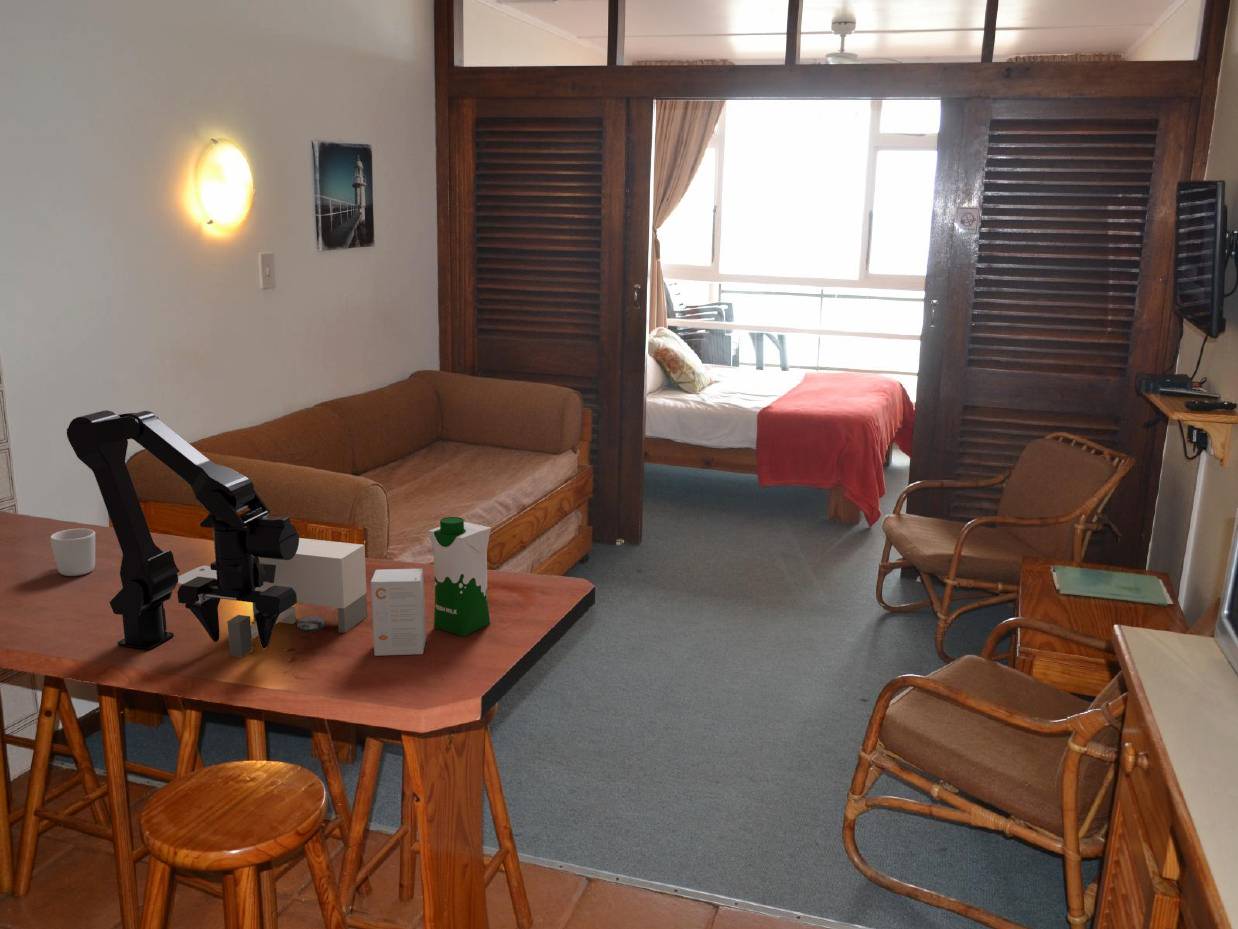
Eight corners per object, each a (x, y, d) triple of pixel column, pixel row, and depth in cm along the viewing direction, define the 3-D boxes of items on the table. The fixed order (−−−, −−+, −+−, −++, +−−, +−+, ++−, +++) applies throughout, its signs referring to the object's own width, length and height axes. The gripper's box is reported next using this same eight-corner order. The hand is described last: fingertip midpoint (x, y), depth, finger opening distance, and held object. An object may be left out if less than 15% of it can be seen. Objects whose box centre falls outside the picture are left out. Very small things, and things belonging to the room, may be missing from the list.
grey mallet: (242, 657, 173) (239, 623, 172) (229, 655, 174) (226, 621, 172) (295, 622, 188) (293, 590, 186) (283, 620, 188) (281, 588, 187)
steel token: (315, 635, 183) (314, 627, 183) (292, 632, 184) (291, 624, 184) (328, 625, 187) (328, 617, 187) (306, 622, 188) (305, 614, 188)
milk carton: (426, 628, 186) (423, 519, 181) (460, 612, 193) (458, 507, 189) (464, 639, 181) (462, 527, 177) (498, 623, 189) (496, 515, 184)
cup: (56, 564, 216) (51, 526, 214) (99, 559, 219) (95, 522, 217) (53, 581, 206) (48, 542, 204) (98, 576, 209) (94, 537, 208)
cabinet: (345, 633, 183) (341, 558, 180) (253, 621, 188) (248, 548, 185) (367, 616, 191) (364, 544, 188) (279, 605, 195) (274, 535, 192)
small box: (426, 640, 181) (424, 567, 178) (423, 655, 175) (421, 580, 172) (378, 641, 180) (375, 568, 177) (373, 656, 174) (370, 581, 171)
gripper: (312, 544, 176) (317, 632, 180) (214, 534, 181) (221, 620, 184) (274, 565, 165) (280, 658, 169) (171, 554, 170) (179, 644, 174)
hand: (240, 644), depth 174 cm, fingers open, 9 cm apart
